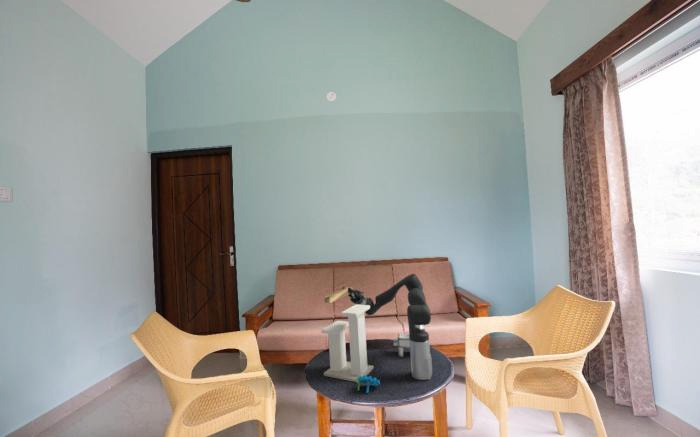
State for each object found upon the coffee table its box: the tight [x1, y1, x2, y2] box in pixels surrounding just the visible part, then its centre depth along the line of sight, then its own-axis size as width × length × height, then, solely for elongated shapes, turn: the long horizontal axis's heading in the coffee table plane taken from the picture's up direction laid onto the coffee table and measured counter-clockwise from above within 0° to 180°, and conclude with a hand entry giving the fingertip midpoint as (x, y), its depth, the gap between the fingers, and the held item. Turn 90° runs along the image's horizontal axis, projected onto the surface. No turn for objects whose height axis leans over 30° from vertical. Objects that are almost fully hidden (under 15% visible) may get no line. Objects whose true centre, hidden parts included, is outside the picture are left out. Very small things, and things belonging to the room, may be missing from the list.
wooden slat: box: [324, 286, 354, 304], centre depth 163 cm, size 3×25×3 cm, turn 152°
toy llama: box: [393, 325, 426, 358], centre depth 172 cm, size 8×18×20 cm, turn 78°
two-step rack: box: [321, 304, 375, 383], centre depth 155 cm, size 20×16×32 cm
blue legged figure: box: [355, 375, 381, 394], centre depth 135 cm, size 11×6×10 cm
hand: (345, 289), depth 169 cm, fingers closed on wooden slat, 3 cm apart
